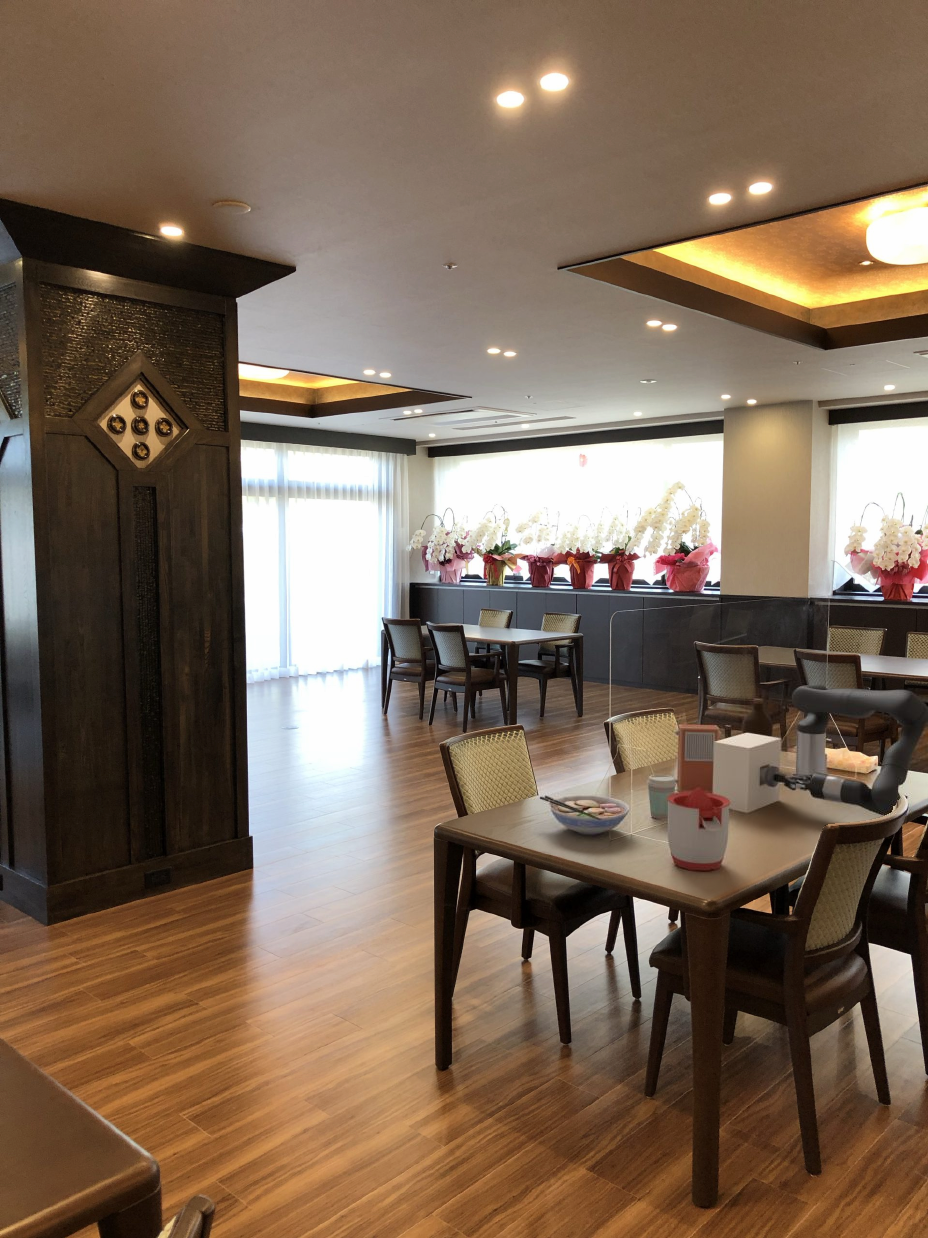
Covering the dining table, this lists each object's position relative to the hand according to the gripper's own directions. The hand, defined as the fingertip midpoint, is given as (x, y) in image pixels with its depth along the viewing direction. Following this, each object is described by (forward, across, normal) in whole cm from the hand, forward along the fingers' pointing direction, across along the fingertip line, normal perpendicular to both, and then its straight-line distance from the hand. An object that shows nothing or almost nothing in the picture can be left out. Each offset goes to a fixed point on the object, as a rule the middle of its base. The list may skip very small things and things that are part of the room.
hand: (775, 777), depth 289 cm
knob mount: (+10, 0, +10) cm, 14 cm away
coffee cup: (+19, +33, +10) cm, 39 cm away
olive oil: (+30, -45, +10) cm, 55 cm away
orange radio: (+28, -2, +10) cm, 30 cm away
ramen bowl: (+26, +59, +10) cm, 65 cm away
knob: (+5, 0, +3) cm, 6 cm away
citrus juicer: (-11, +61, +10) cm, 63 cm away
